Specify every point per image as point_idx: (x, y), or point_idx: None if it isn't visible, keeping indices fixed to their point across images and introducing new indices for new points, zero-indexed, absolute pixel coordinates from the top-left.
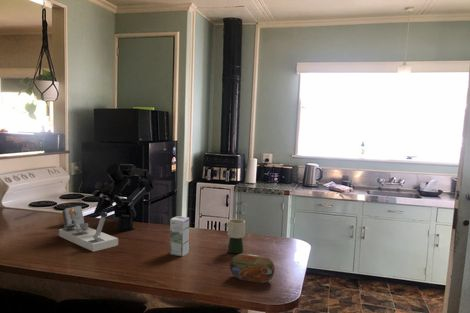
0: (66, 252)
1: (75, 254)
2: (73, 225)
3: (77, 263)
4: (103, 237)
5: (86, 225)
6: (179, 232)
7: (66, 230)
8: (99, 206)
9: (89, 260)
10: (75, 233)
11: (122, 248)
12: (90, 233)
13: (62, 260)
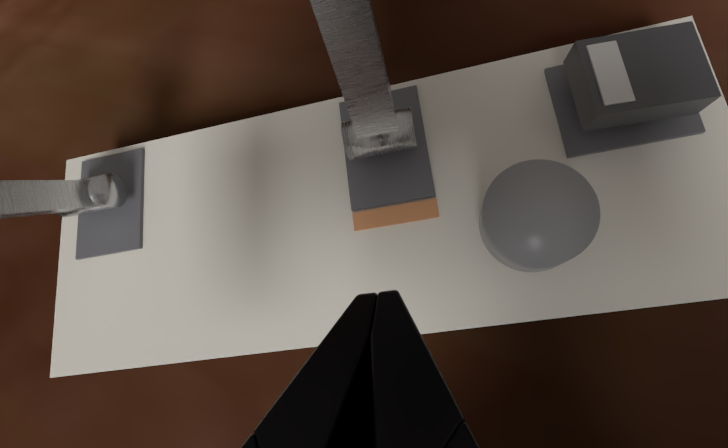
0: (208, 47)
1: (143, 82)
2: (590, 104)
3: (27, 65)
4: (152, 285)
5: (485, 228)
6: None
7: None
8: (264, 426)
9: (18, 121)
10: (412, 115)
11: (35, 361)
12: (341, 236)
13: (110, 13)
